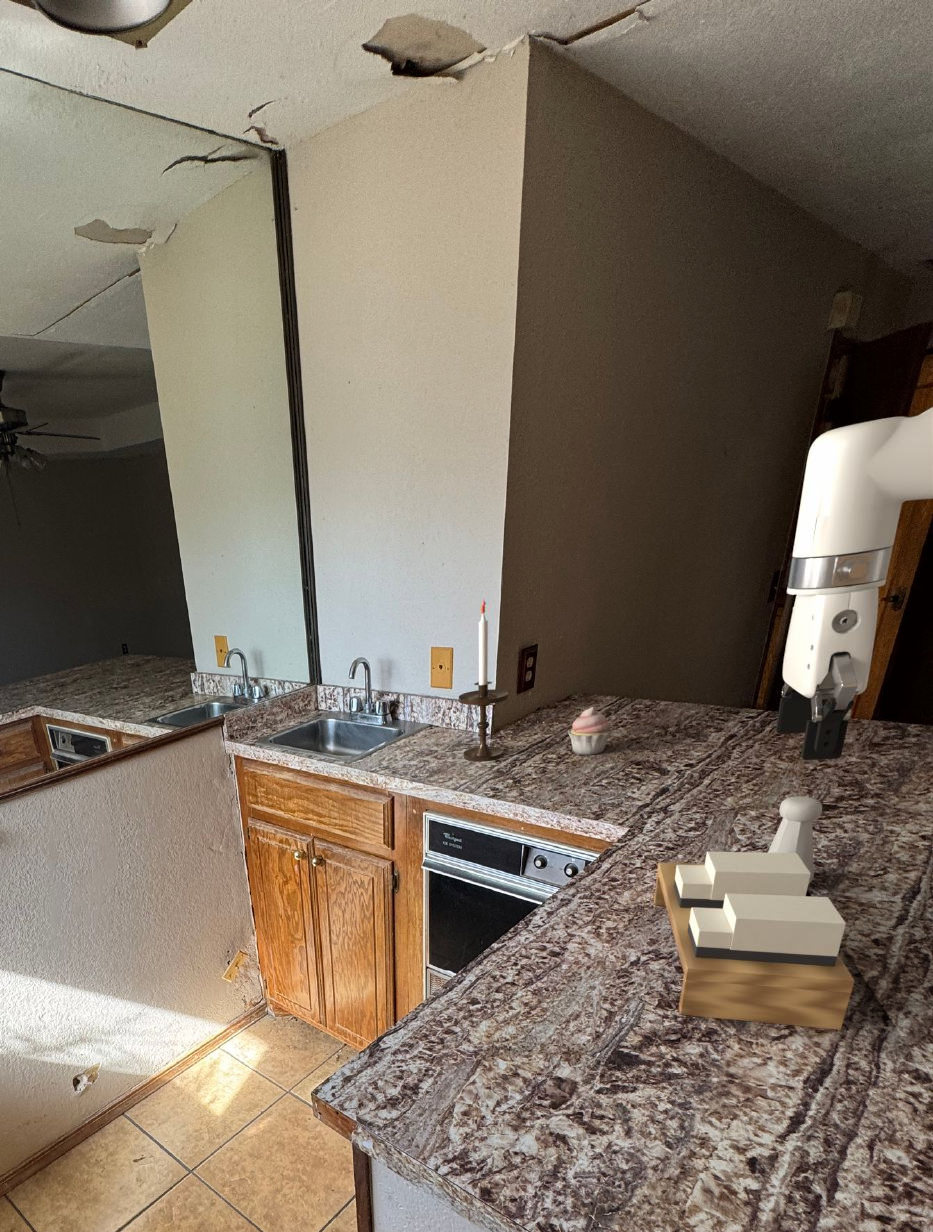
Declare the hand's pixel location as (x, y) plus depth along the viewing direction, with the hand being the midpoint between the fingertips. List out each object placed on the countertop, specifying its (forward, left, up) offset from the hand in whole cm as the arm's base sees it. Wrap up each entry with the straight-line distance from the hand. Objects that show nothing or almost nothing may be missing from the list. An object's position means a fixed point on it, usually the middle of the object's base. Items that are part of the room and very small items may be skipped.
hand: (805, 744), depth 74 cm
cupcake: (+17, -80, -24) cm, 85 cm away
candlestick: (+40, -79, -24) cm, 92 cm away
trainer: (+4, +2, -18) cm, 19 cm away
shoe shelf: (+4, +5, -24) cm, 25 cm away
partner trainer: (+4, +13, -18) cm, 23 cm away
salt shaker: (-5, -13, -24) cm, 28 cm away
